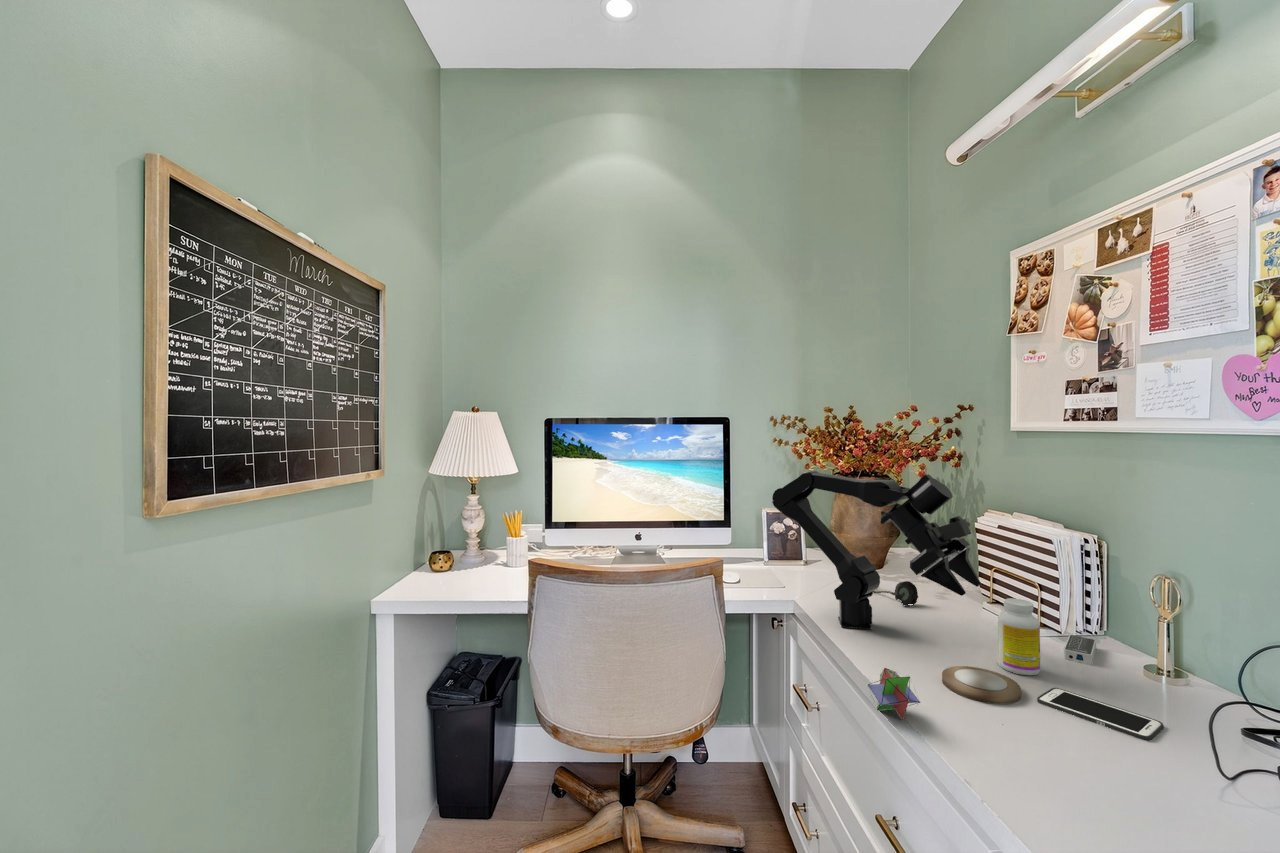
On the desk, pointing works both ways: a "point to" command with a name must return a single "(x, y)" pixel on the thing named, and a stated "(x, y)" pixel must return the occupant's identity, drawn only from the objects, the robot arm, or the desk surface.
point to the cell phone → (1102, 713)
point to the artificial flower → (904, 593)
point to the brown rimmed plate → (981, 685)
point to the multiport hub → (1080, 650)
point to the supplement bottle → (1019, 638)
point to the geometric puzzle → (893, 692)
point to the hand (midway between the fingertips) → (971, 589)
